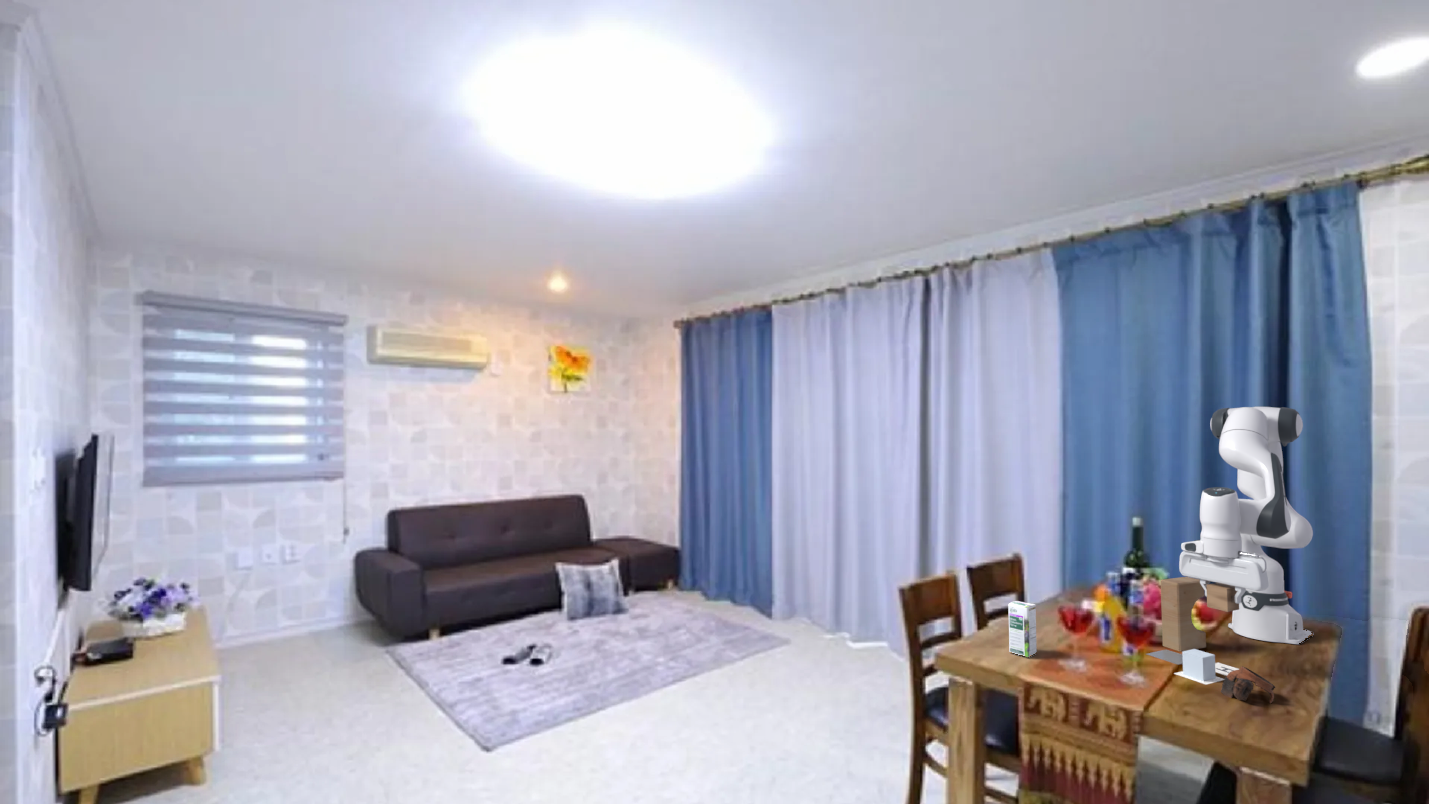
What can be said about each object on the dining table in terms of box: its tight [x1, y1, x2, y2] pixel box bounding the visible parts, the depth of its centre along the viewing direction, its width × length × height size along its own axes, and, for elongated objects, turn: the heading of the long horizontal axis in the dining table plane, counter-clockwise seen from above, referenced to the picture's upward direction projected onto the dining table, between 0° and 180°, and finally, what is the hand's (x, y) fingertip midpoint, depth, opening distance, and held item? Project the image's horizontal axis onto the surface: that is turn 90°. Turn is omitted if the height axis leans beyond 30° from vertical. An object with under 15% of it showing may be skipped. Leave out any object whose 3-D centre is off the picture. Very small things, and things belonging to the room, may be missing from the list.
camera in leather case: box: [1220, 665, 1276, 704], centre depth 157 cm, size 12×10×8 cm
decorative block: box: [1160, 576, 1207, 652], centre depth 194 cm, size 11×6×20 cm, turn 107°
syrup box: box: [1007, 600, 1038, 658], centre depth 190 cm, size 6×6×14 cm
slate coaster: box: [1146, 649, 1183, 666], centre depth 185 cm, size 9×9×1 cm
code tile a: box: [1215, 662, 1240, 677], centre depth 175 cm, size 8×8×1 cm
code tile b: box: [1173, 670, 1225, 686], centre depth 171 cm, size 8×8×1 cm
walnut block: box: [1206, 582, 1239, 613], centre depth 176 cm, size 5×5×6 cm
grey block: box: [1181, 649, 1217, 681], centre depth 171 cm, size 5×5×6 cm
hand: (1222, 599), depth 176 cm, fingers closed on walnut block, 5 cm apart
